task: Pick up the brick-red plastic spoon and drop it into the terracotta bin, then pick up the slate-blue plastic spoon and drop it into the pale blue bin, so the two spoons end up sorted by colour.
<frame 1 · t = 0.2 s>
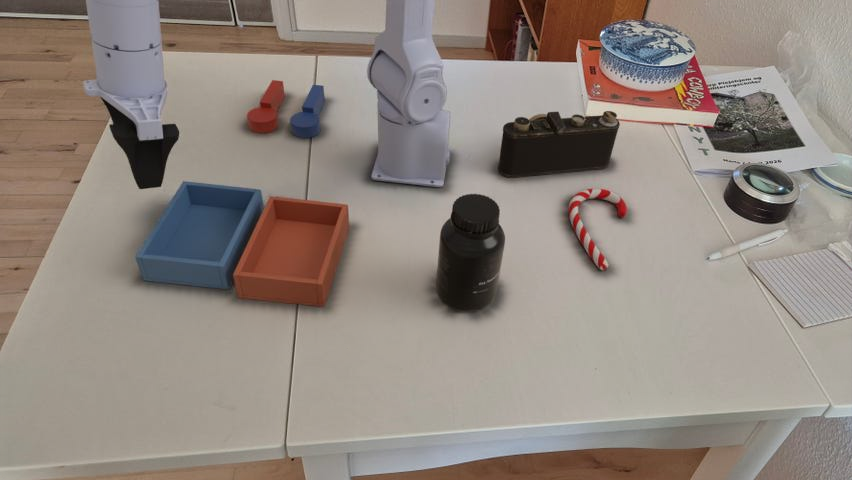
hand: (140, 165, 69), 10 cm above the table, tool pointing down, fingers open, 7 cm apart
supplement bottle: (466, 292, 75), on the table
candy cane: (599, 232, 85), on the table
red bin: (297, 260, 76), on the table
red spoon: (269, 114, 96), on the table
camera: (551, 162, 94), on the table
blue spoon: (311, 118, 97), on the table
blue bin: (208, 244, 76), on the table
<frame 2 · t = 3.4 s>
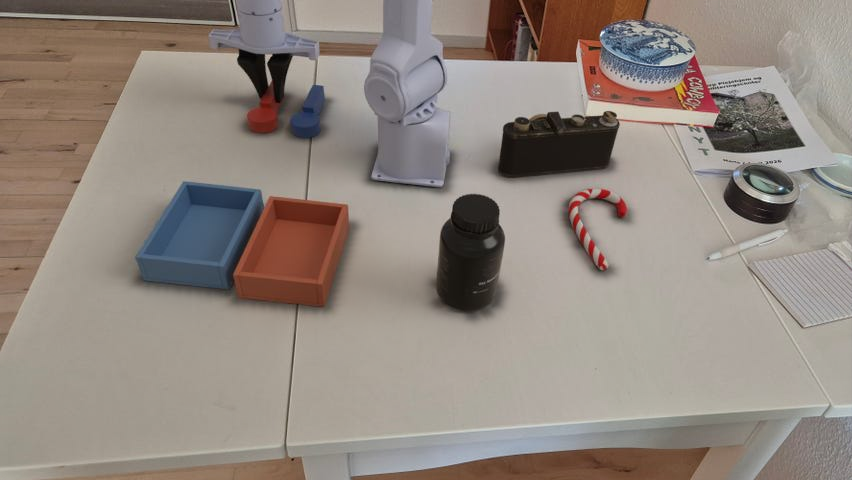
hand: (272, 98, 97), 1 cm above the table, tool pointing down, fingers closed on red spoon
red spoon: (269, 114, 96), on the table, touching gripper
everything else where it was.
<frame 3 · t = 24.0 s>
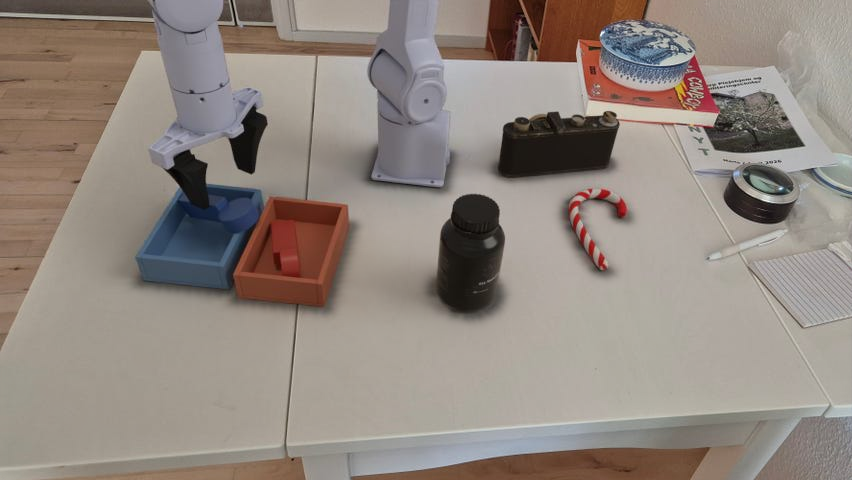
hand: (223, 187, 76), 5 cm above the table, tool pointing down, fingers open, 7 cm apart
red spoon: (297, 249, 74), point 2 cm above the table, tilted 90°, touching red bin
blue spoon: (224, 218, 76), point 3 cm above the table, tilted 19°, touching gripper
everything else where it was.
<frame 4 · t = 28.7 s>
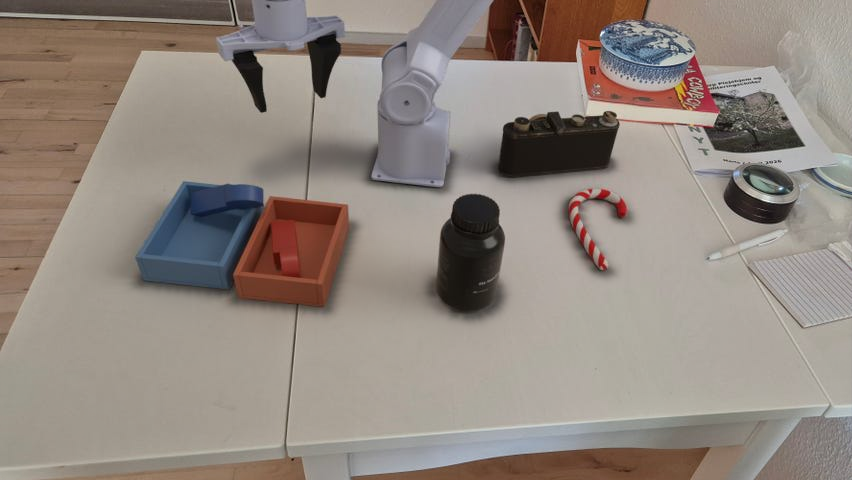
hand: (290, 101, 82), 9 cm above the table, tool pointing down, fingers open, 7 cm apart
blue spoon: (226, 208, 76), point 4 cm above the table, tilted 53°, touching blue bin
everything else where it was.
at the end: red spoon inside the target area in the red bin (0.5 cm from its centre), point 2.1 cm above the red bin's base; blue spoon inside the target area in the blue bin (3.0 cm from its centre), point 3.6 cm above the blue bin's base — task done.
